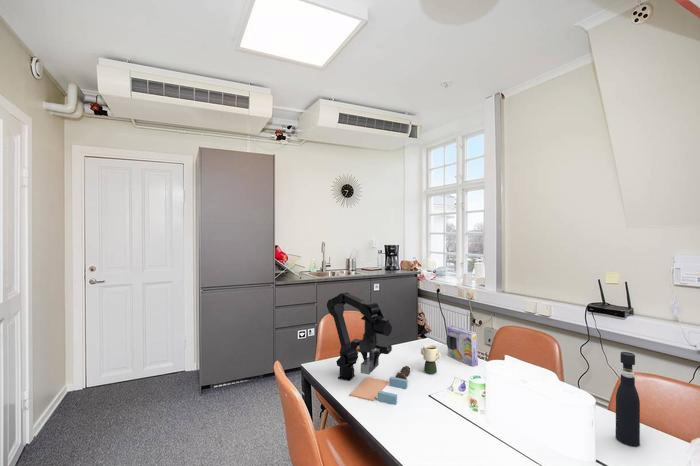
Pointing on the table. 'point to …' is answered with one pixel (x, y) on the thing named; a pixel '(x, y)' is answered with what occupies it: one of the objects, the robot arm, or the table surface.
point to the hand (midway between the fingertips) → (370, 364)
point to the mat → (369, 388)
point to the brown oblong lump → (403, 373)
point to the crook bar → (369, 363)
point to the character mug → (430, 358)
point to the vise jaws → (392, 397)
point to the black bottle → (627, 405)
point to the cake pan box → (462, 345)
